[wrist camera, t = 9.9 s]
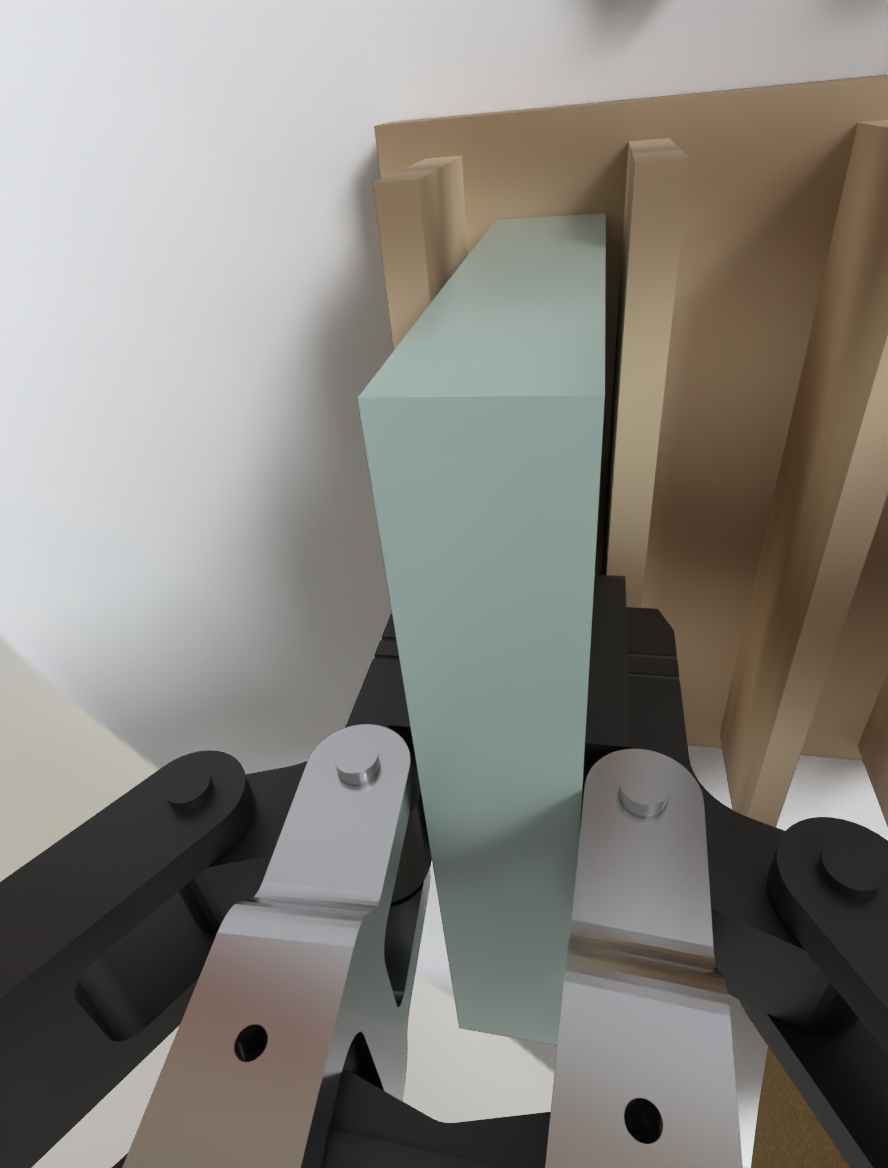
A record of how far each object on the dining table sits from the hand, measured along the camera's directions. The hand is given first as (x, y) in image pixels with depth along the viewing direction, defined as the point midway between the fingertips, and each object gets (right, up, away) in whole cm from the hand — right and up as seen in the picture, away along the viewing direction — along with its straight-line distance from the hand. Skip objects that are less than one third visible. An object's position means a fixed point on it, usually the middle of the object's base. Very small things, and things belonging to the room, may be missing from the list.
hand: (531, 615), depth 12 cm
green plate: (+1, +2, +3) cm, 4 cm away
